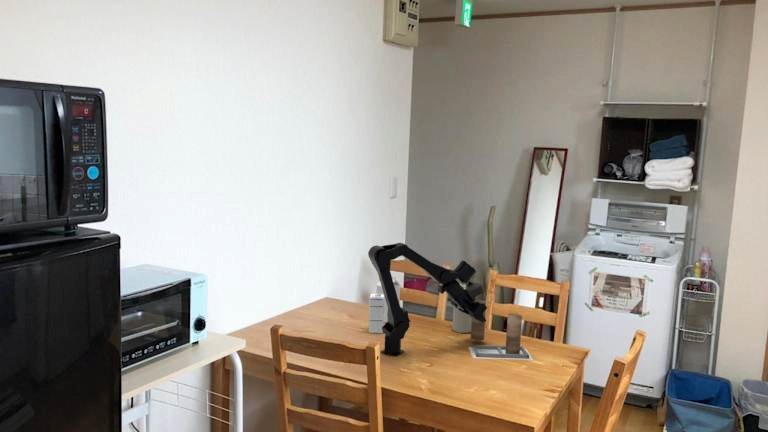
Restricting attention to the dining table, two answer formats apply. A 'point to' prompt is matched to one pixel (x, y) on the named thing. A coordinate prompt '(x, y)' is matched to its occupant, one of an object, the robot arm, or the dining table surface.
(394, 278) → the milk carton
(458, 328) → the travel mug
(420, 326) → the dining table surface
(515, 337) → the billet
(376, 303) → the syrup box
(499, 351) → the pallet board
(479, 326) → the billet
